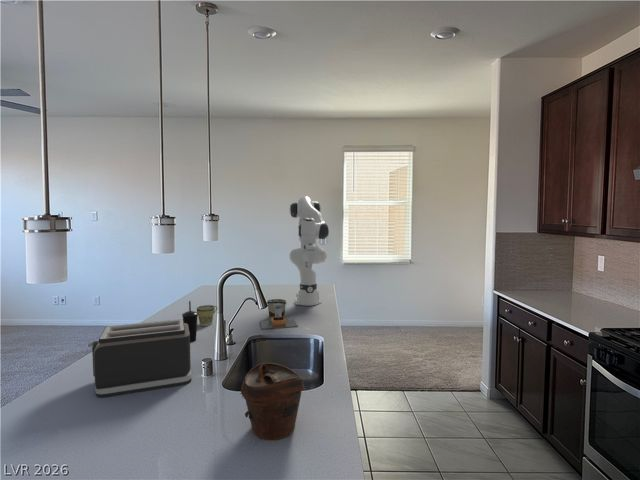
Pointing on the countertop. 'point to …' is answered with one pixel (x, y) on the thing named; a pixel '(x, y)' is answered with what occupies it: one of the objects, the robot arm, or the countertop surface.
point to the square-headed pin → (278, 311)
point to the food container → (272, 308)
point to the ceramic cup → (206, 314)
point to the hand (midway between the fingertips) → (308, 268)
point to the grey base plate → (278, 323)
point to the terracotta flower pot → (272, 399)
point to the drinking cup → (191, 322)
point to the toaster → (141, 357)
